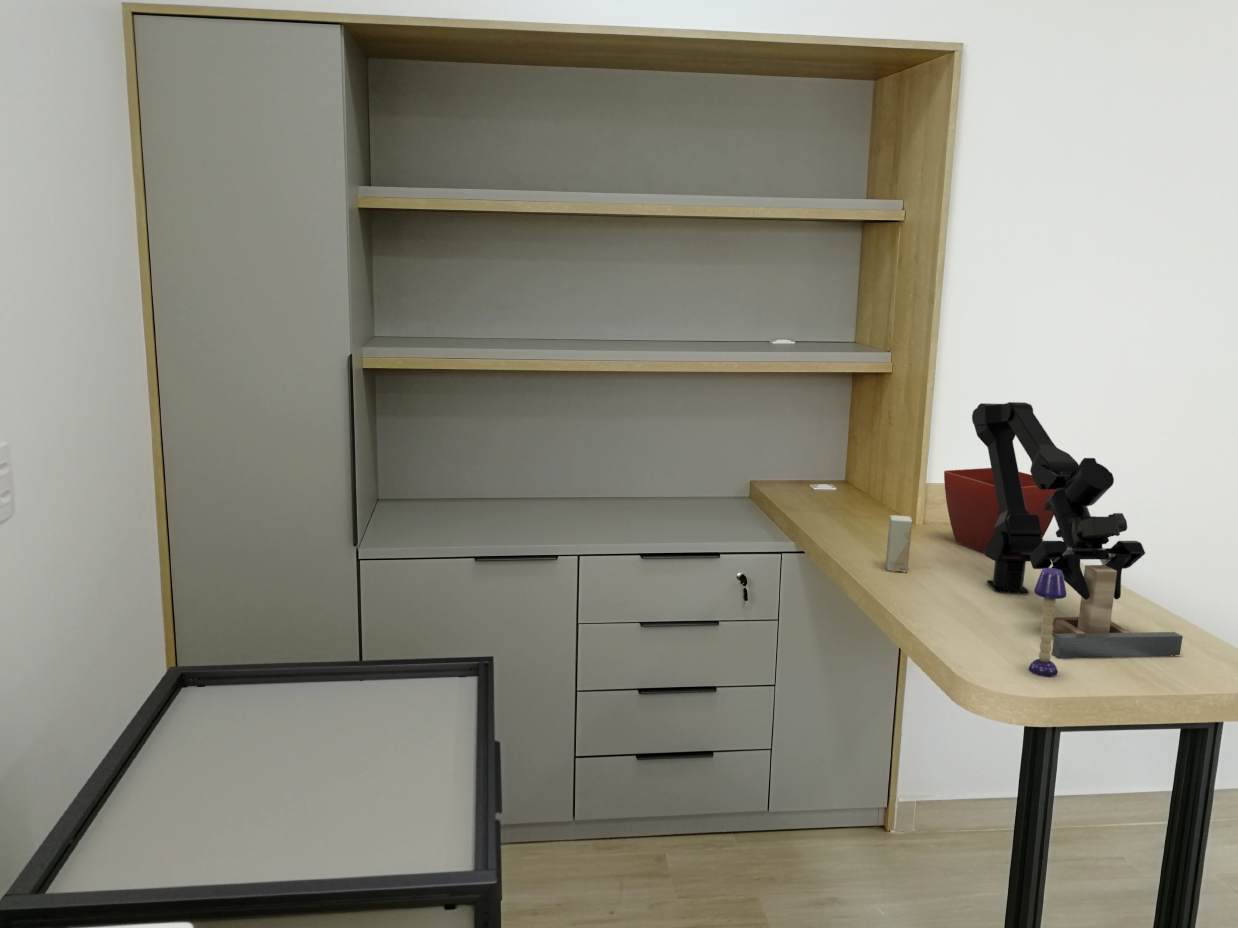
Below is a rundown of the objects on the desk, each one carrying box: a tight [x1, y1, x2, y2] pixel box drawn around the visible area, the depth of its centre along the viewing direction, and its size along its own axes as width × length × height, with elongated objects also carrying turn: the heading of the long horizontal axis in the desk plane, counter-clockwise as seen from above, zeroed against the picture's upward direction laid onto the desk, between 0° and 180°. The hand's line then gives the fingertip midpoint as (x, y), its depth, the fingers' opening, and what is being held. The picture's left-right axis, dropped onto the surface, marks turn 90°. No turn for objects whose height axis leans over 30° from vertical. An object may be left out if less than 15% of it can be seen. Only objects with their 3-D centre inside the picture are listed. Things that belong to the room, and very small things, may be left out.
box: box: [885, 514, 913, 573], centre depth 216 cm, size 5×4×11 cm
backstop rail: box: [1051, 631, 1183, 659], centre depth 171 cm, size 2×22×4 cm, turn 98°
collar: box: [1051, 616, 1132, 634], centre depth 178 cm, size 10×10×2 cm
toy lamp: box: [1028, 567, 1067, 677], centre depth 162 cm, size 5×5×17 cm
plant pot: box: [943, 467, 1058, 554], centre depth 235 cm, size 19×19×17 cm
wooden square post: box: [1078, 564, 1117, 633], centre depth 177 cm, size 4×4×13 cm
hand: (1102, 598), depth 175 cm, fingers open, 5 cm apart
